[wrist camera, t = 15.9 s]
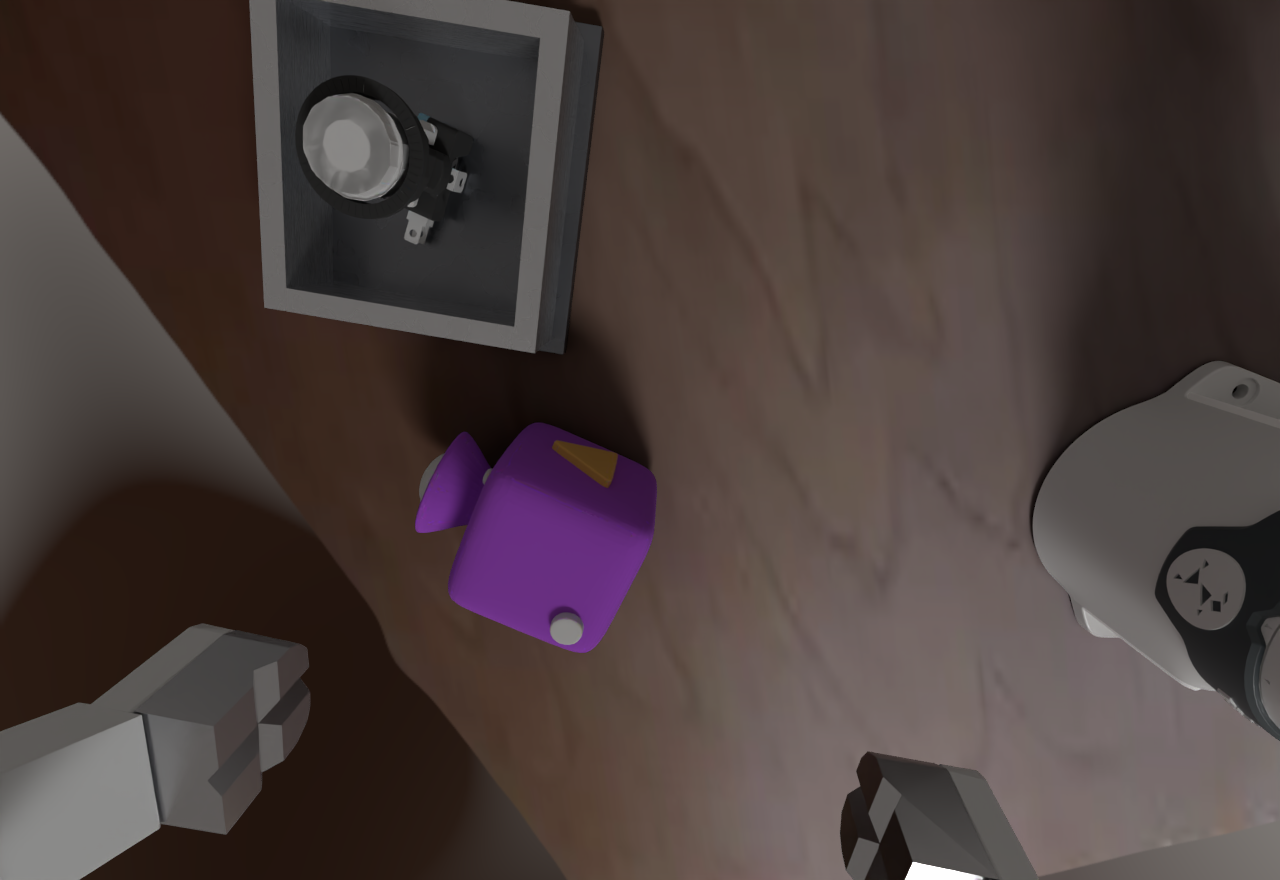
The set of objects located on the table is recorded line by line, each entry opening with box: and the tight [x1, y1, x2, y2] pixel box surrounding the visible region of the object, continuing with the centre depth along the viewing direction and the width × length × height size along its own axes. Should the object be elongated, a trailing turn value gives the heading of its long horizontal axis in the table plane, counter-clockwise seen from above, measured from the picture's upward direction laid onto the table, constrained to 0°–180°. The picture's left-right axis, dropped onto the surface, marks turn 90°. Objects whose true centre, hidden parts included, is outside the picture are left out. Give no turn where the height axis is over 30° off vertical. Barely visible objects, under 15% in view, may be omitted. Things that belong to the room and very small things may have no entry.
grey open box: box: [249, 0, 604, 354], centre depth 31 cm, size 16×17×6 cm
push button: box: [295, 75, 473, 244], centre depth 28 cm, size 7×5×10 cm
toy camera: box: [415, 423, 657, 653], centre depth 35 cm, size 11×14×10 cm
